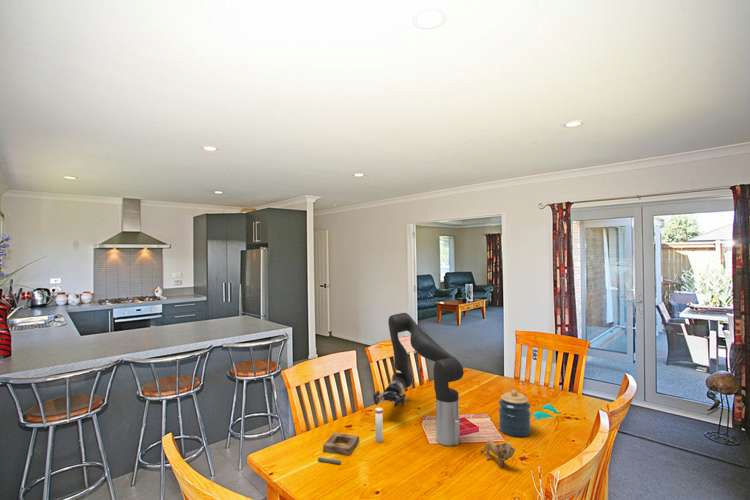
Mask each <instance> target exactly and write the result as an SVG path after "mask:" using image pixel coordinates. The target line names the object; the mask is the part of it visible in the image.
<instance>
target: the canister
mask: <svg viewBox="0 0 750 500" xmlns="http://www.w3.org/2000/svg"><path fill="white" fill-rule="evenodd" d="M498 404H499V408H498V413H499V414H498V417H499V418H498V419H499V420H498V421H499V422H498V427H499V430H500V431H501V433H502V434H505V435H507V436H510V437H514V438H525V437H528V436H529V435H531V431H532V427H531V416H532V414H531V413H532V412H531V411H530V408H531V404H530V403H529V398H528V397H526V396H525V395H524V394H522V393H520V392H518V391H517V390H516V389H512V390H511V391H507V392H505V393H503V394H501V395H500V399H499V400H498Z"/></svg>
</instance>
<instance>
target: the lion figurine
mask: <svg viewBox="0 0 750 500" xmlns="http://www.w3.org/2000/svg"><path fill="white" fill-rule="evenodd" d="M485 451H486V453H485V456H486V457H485V458H486V461H490V457H489V456H491V455H492V454H493V455H494V456H495V457H497V465H498V468H499V469H503V466H504V467H505V466H507V463H505V461H508V460H509V459H511V458H512V457H514V454H515V452H516V448H514V447H513V445H512V443H510V442H504V443H500V444H496V443H495V442H494V440H492V439H487V440H486V443H485V447H484V449H483V450H480V453H484V452H485ZM491 453H492V454H491Z"/></svg>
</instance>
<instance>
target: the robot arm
mask: <svg viewBox="0 0 750 500" xmlns="http://www.w3.org/2000/svg"><path fill="white" fill-rule="evenodd" d="M388 329H389V336H390V340H391V345H392V350H393V358H394V359H393V360H394V361H393V363H394V369H395V370H396V371H397V372H394V373H393V374H392V376H391V377H392V378H391V382H390V383H389V384H388V385H387V387H386V388H385V389H384V391H383V392H380V391H379V390H378V391H375V393H374V394H373V401H374V404H375V405H376V406H377V405H379V403H380V402H382V403H383V402H390V403H391V402H392V403H394V404H393V406H394V408H397V407H398V406H399V405H405V402H406V393H403V392H404V390H406V388H410V387H411V386H412V384H413V376H412V373H411V371H410V367H409V357H408V353H407V352H408V351H407V349H406V348H405V347H404V345H403V344H402V342H401V341H400V339H399V333H403V332H408V333H410V345H411V347H412V349H413V350H414V351H415V352H416V353H417V354H418V355H419V356H420V357H422V358H424V359H427V360H428V361H429V360H430V361H431V362H434V364H433V371H432V372H433V387H434V388H433V389H434V394H435V431H436V432H435V440H436V442H437V443H438V444H439V445H442V446H449V447H450V446H459V443H460V415H459V414H460V413H459V412H460V411H459V410H460V409H459V408H460V407H459V400H460V398H459V397H460V396H459V392H458V391H457V389H455V388H451V387H450V386H449V385H450V384H449V383H451V382H457V381H459V380H461V379H463V377H464V374H465V373H464V368H463V365H462V364H461V362H460V361H459V360H458V359H457V358H456V357H454V356H453V355H452V354H450V353H449V352H447V351H446V350H445V349H444V348H443V347H442V346H441V345H439V344H438V343H437V342H436V341H435V340H434V339H433V338H432V337H431V336H430V335H428V333H426V332H425V331H424V330H423V329H422V328H421V327H420V326H419V325H418V324H417V323H416V321H415V320H414V318H413V317H412V316H411V315H410V314H408V313H407V312H400V313H396V314H391V315H390V316H389V317H388Z"/></svg>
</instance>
